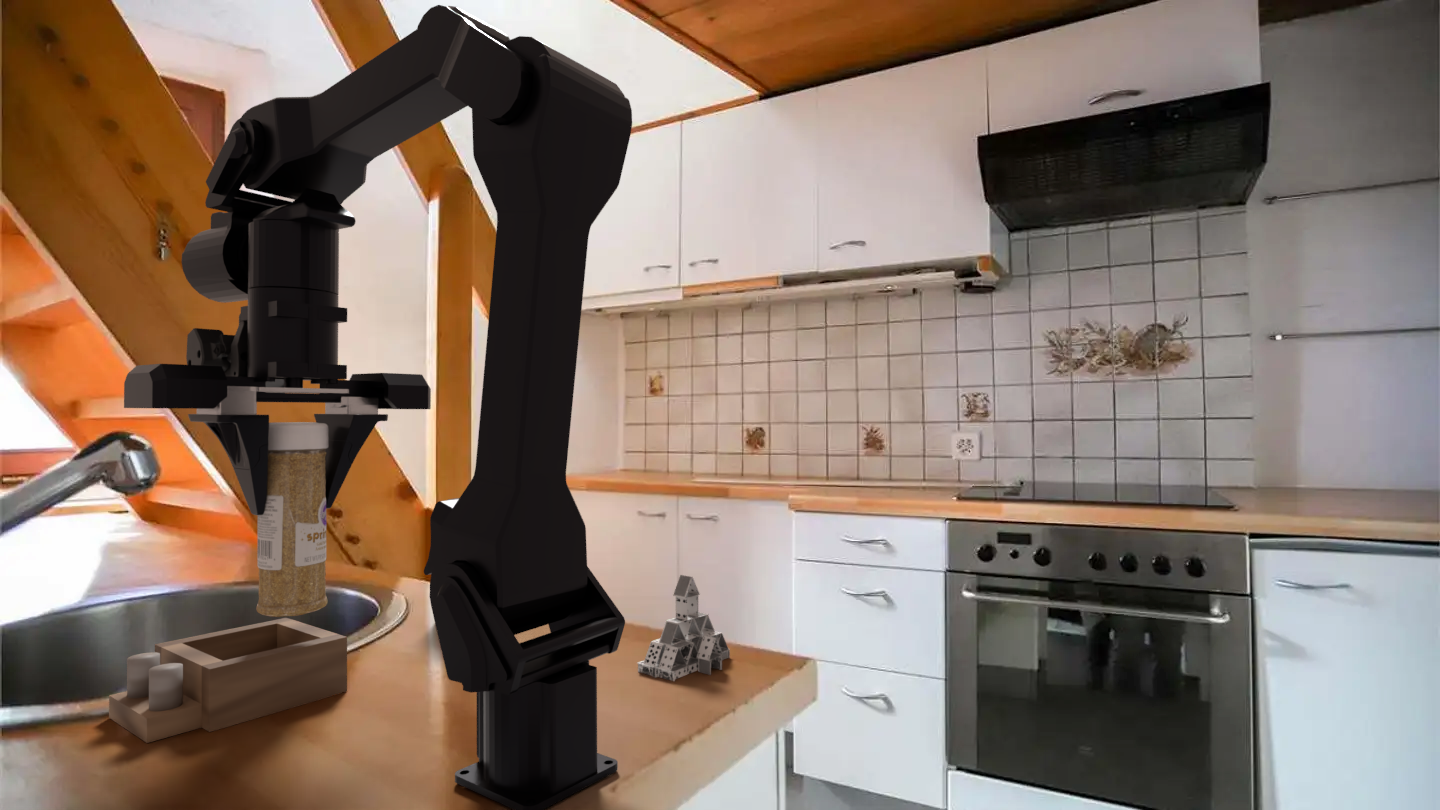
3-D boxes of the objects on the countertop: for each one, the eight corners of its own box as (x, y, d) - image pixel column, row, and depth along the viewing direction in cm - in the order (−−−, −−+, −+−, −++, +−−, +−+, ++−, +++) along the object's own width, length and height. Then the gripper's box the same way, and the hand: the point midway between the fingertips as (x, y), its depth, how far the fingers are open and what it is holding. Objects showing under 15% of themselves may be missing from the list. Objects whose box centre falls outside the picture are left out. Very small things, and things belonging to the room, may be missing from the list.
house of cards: (707, 712, 54) (707, 600, 54) (619, 684, 60) (619, 583, 60) (781, 677, 61) (781, 578, 61) (696, 656, 67) (696, 565, 67)
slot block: (347, 691, 57) (347, 636, 58) (154, 748, 48) (154, 682, 48) (286, 667, 63) (286, 617, 63) (102, 713, 54) (103, 654, 54)
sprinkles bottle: (331, 612, 56) (332, 422, 56) (256, 622, 53) (258, 423, 53) (323, 599, 59) (324, 421, 59) (253, 607, 57) (254, 421, 57)
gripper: (361, 314, 69) (360, 492, 69) (97, 287, 54) (95, 515, 54) (435, 304, 62) (433, 502, 62) (156, 270, 47) (154, 531, 47)
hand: (292, 511), depth 56 cm, fingers closed on sprinkles bottle, 4 cm apart
